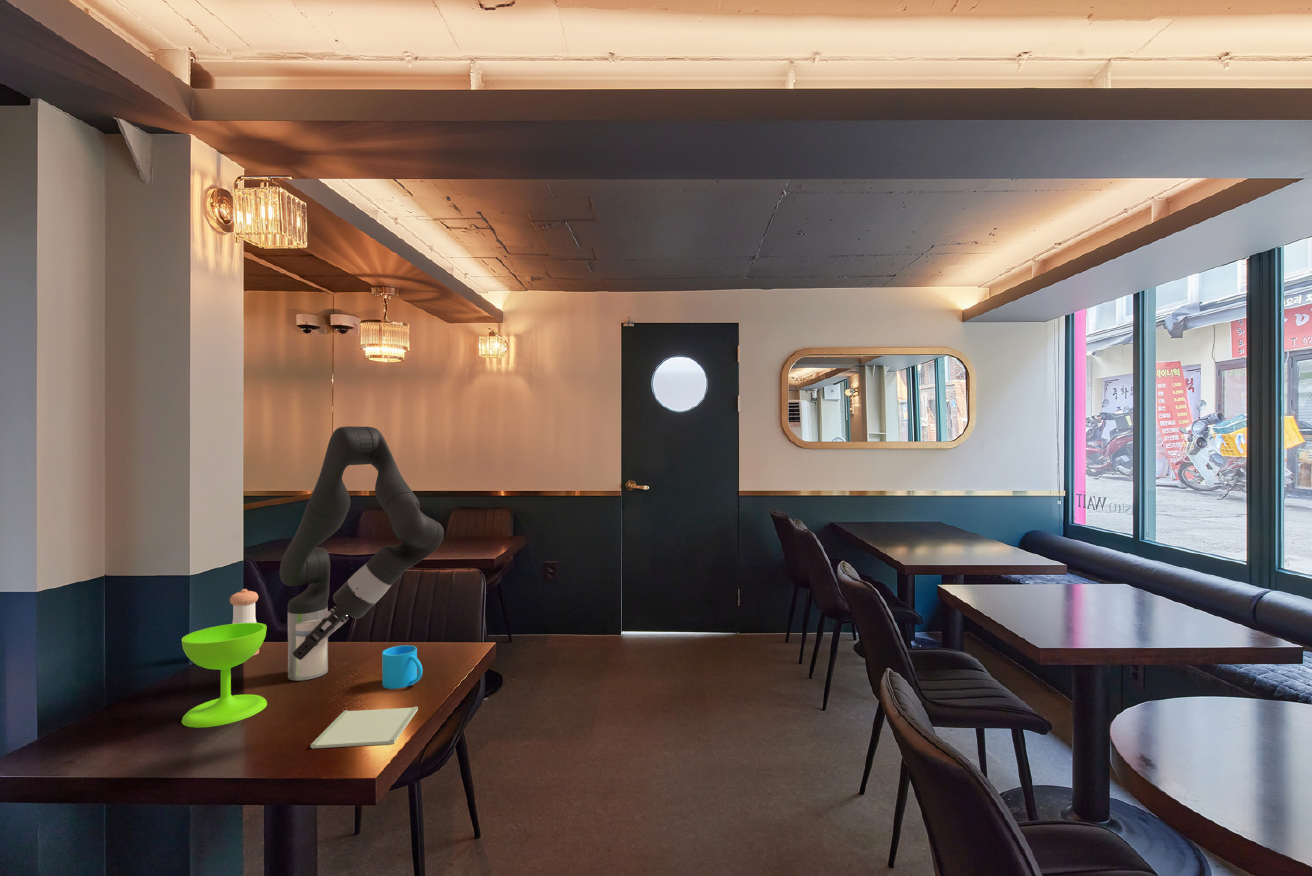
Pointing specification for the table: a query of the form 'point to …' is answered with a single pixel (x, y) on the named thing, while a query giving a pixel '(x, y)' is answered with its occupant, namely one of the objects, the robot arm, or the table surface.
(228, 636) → the wineglass
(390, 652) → the mug
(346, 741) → the mat
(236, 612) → the salt shaker
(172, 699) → the table surface
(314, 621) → the cream domed container
